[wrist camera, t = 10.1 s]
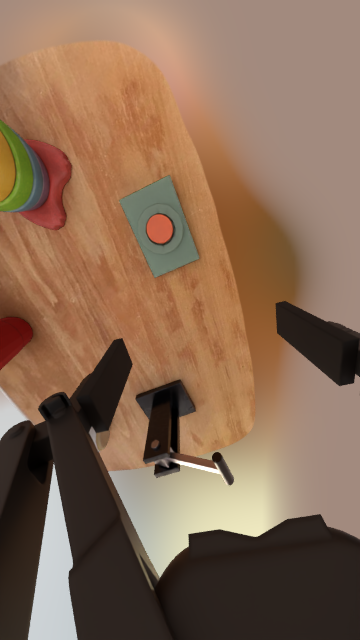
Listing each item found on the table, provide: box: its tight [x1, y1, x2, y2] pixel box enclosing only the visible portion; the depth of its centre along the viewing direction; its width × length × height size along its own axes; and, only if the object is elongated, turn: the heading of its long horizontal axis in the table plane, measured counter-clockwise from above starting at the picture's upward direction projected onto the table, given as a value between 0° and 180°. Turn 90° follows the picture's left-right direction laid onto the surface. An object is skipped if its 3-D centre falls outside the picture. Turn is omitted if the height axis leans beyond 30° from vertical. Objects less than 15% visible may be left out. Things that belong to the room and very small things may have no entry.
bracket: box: [136, 380, 196, 478], centre depth 37 cm, size 11×9×14 cm
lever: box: [154, 447, 234, 485], centre depth 30 cm, size 13×6×2 cm, turn 113°
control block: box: [119, 175, 199, 278], centre depth 29 cm, size 12×8×4 cm, turn 23°
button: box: [146, 214, 173, 244], centre depth 26 cm, size 4×4×2 cm
